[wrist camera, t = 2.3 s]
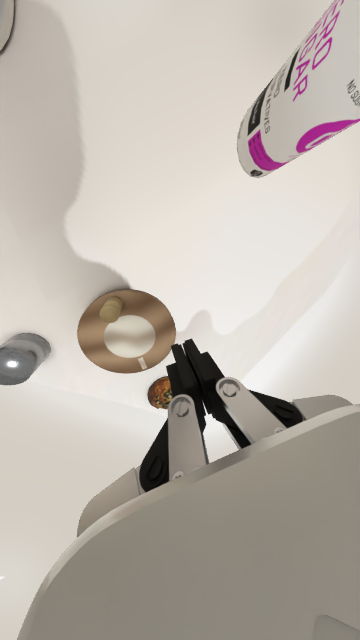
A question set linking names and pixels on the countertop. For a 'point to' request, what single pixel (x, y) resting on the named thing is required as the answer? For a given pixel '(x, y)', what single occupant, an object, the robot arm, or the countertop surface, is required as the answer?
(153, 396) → the bread roll
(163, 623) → the robot arm
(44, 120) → the countertop surface
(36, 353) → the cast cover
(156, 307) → the turntable
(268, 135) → the supplement can
